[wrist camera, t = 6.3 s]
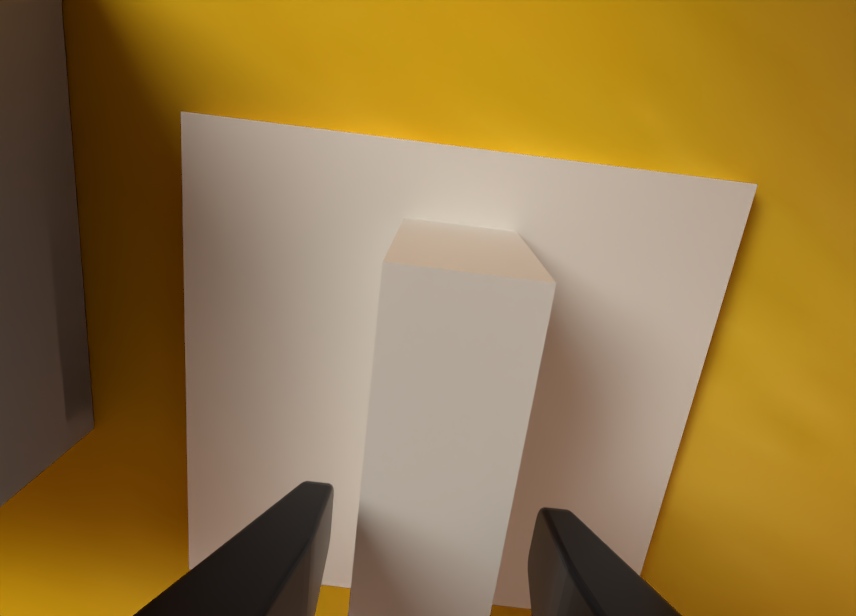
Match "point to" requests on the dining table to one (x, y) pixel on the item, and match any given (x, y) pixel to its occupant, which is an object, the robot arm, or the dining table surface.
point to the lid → (439, 348)
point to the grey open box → (38, 251)
